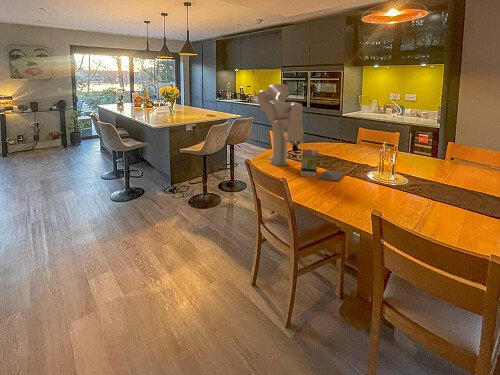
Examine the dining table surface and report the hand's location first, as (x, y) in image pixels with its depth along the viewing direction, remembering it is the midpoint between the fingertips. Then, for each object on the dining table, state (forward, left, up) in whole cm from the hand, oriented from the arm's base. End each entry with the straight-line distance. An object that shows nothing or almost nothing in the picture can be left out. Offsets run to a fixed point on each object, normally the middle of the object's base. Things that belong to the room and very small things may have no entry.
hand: (294, 151), depth 225 cm
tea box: (+10, 0, -14) cm, 17 cm away
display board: (+25, 0, -14) cm, 29 cm away
